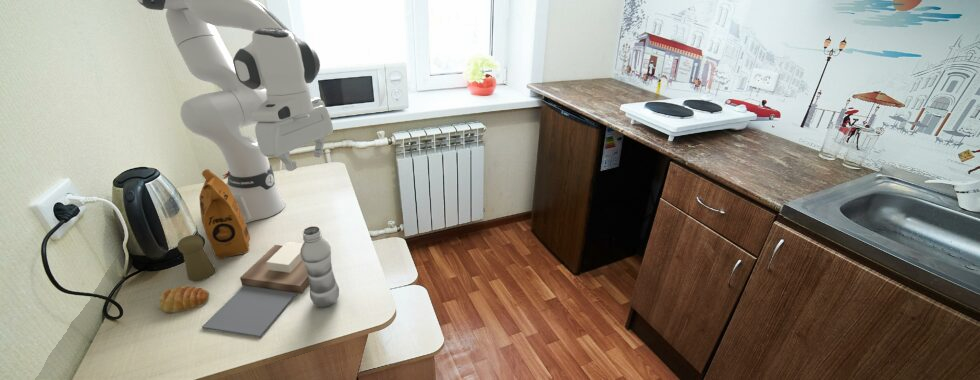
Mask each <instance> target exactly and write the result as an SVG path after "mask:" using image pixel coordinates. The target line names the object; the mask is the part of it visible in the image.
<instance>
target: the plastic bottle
mask: <svg viewBox="0 0 980 380" xmlns="http://www.w3.org/2000/svg"><path fill="white" fill-rule="evenodd" d="M301 233H302V240H303V241H304V242H302V243H303V245H302V247H301V251H300V255H301V258H302V260H303V263H304V265H305V267H306V270H307V273H308V277H309V284H310V285H309V298H310V300H311V302H312V304H313V305H315V306H317V307H319V308H326V307H327V308H328V307H330V306H331V305H334V303H336V302H337V300H338V299H339V295H340V288H339V285H338V282H337V281H336V278H335V274H334V272H333V267H332V249H331V248H332V247H331V246H330V244H329V242H328V241H327V240H326V239H325V238H323V235H322V232H321V229H320V227H319V226H316V225H315V226H314V225H313V226H308V227H306V228H304V229H303V230H302V232H301Z"/></svg>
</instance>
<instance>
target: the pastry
mask: <svg viewBox="0 0 980 380" xmlns="http://www.w3.org/2000/svg"><path fill="white" fill-rule="evenodd" d="M209 299H210V291H208V290H205V289H203V288H201V287H196V286H187V285H184V286H176V287H174V288H173V289H171V288H168V289H165V290H164V291H163V292H162V294H161V295H160V298H159V303H158V304H159V305H158V306H159V311H162V312H165V313H167V314H171V313H181V312H185V311H189V310H193V309H196V308H199V307H200V306H204V305H206V303H208V300H209Z"/></svg>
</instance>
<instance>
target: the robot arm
mask: <svg viewBox="0 0 980 380" xmlns="http://www.w3.org/2000/svg"><path fill="white" fill-rule="evenodd" d="M137 2H138V3H139V4H140V5H141V6H143V7H144V8H146V9H148V10H154V11H155V10H156V11H164V10H166V12H165V18H166V22H167V25H168V29H169V30H170V34H171V37H172V38H173V42H174V44H175V45H176V47H177V49H178V51H179V53H180V55H181V57H182V59H183V61H184V63H185V64H186V67H187V69H188V71H189V72H190V74H191V75H192V76H194V77H195V78H197V79H198V80H199V81H202V82H207V83H208V82H209V83H211V84H214V85H215V86H217V87H218V88H220V89H221V90H218V91H214V92H208V93H203V94H200V95H197V96H193V97H191V98H189V99H187V100H185V101H183V102H182V105H181V107H180V119H181V120H182V123H183V124H184V126H185V127H186V128H187V129H188V130H189V131H190V132H192V133H194V134H196V135H198V136H202V137H203V138H205V139H208V140H210V141H211V142H213V143H214V144H215V145H216V146H217V147H218V149H219V150H220V151H221V153H222V155H223V158H224V160H225V163H226V165H227V168H228V171H227V172H226V173H225V174H223V175H222V176H223V180H224V179H227V182H225V184H226V185H227V186H228V187H229V189H230V191H231V193H232V195H233V196H234V198H235V200H236V202H237V204H238V206H239V208H240V210H241V212H242V215H243V217H244V220H245V223H246V224H248V223H251V222H253V221H259V220H263V219H267V218H270V217H272V216H275V215H277V214H279V213H280V212H281V211H282V210H283V209H285V207H286V202H285V200H284V199H283V197H282V195H281V193H280V191H279V189H278V187H277V184H276V182H275V174H274V169H273V167H272V165H271V164H270V161H269V158H278V159H279V160H280V161H281V162H282V163H284V165H285V169H286V171H289V172H292V171H294V170H296V169H297V168H298V167H297V162H296V161H295V160H294V161H292V160H291V158H290V156H291V153H290V152H293V151H294V150H296V149H299V148H302V147H304V146H305V145H308V144H311V143H315V145H314V149H313V150H312V152H313V155H314V157H315V158H321V157H323V156H324V155H325V153H324V146H325V138H324V137H326V136H328V135H331V134H333V131H334V126H333V122H332V119H331V116H330V113H329V111H328V109H327V107H326V104H325V102H324V101H323V100H322V99H321V98H319V97H314V98H313V99H312V97H311V92H310V91H311V90H310V87H309V86H308V84H311V83H313V82H314V80H315V79H316V78H317V76H318V75H319V72H320V68H321V62H320V58H319V56H318V53H317V52H316V50H314V48H313V47H312V46H311V45H310V44H308V43H307V42H306V41H305V40H303V39H302V38H299V37H298V36H297V35H296V34H295V33H293V31H292V30H290V29H289V28H288V27H287V26H286V25H285V24H284V23H283V22H282V21H280V19H279V18H277V16H275V15H274V13H272V11H270V10H269V9H268V8H267V7H265V5H263V4H262V3H261V2H260V1H257V0H137ZM216 27H222V28H223V27H224V28H234V29H239V30H246V31H252V32H253V33H252V35H251V38H252V39H251V41H250V43H248V44H247V45H246V46H244V47H243V48H239V49H238V50H237V52H236V54H235V55H234V57H232V55H231V53H230V52H229V50H228V48H227V47H226V45H225V42H224V40H223V39H222V37H221V34H220V32H219V31H218V29H217V28H216ZM254 124H255V129H254V130H255V131H254V132H255V137H251V136H247V135H243V134H242V132H241V129H242V128H244V127H248V126H252V125H254ZM268 157H269V158H268Z"/></svg>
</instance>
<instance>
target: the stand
mask: <svg viewBox="0 0 980 380" xmlns="http://www.w3.org/2000/svg"><path fill="white" fill-rule="evenodd" d="M282 246H283V245H280V244H274V245H273V246H272V247H271V248H269V250H267V252H265V254H263V255H262V257H260V258H259V259H258V260H257V261H256V262H255V263H254V264H253V265H252V266H251V267H250V268H249V269H248V270H246V271H245V272H244V273H243V274H242V275H241V276H240V277H239V279H240V282H241V285H242V287H243V286H251V287H258V288H265V289H272V290H280V291H287V292H294V293H297V294H300V295H302V294H304V292H305V291H306V290H307V288H308V287H310V284H309V277H308V273H307V270H306V267H305V265H304V263H303V260H302V261H301V262H300V263H299V264H298V265H297V266H296V267H295V269H294V270H293V271H292V272H291V273H288V272H281V271H273V270H269V269H268V266H267V261H268V260H269V259H270V258H271V257H272V256H273V255H274V254H275V253H276V252H277V251H278V250H279V249H280V248H281V247H282Z"/></svg>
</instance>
